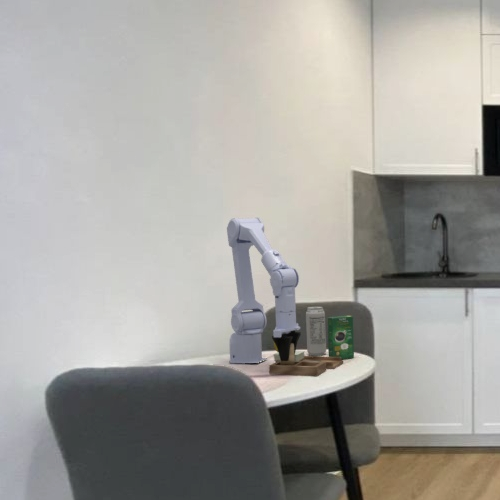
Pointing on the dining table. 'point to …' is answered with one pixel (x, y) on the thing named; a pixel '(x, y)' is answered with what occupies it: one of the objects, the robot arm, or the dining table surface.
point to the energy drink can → (316, 331)
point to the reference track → (330, 361)
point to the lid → (298, 356)
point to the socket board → (298, 368)
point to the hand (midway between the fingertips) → (287, 359)
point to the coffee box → (340, 337)
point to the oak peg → (291, 357)
